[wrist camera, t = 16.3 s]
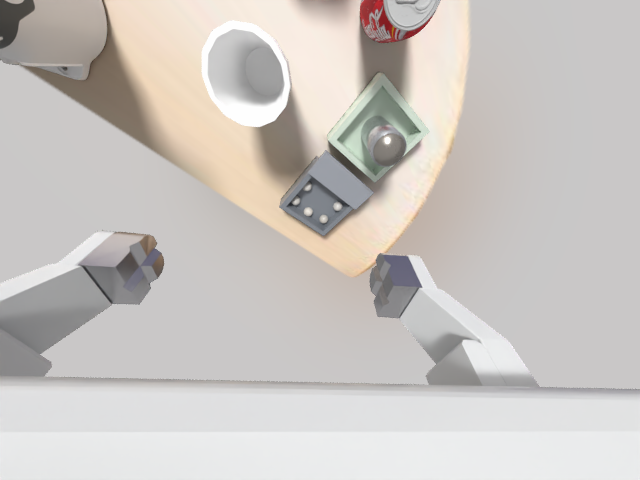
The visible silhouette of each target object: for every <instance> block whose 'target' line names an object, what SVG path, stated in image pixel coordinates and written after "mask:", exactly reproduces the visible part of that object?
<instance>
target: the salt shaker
mask: <svg viewBox="0 0 640 480" xmlns="http://www.w3.org/2000/svg"><path fill="white" fill-rule="evenodd" d="M361 138H362V140H363V142H364V144H365V146H366V148H367V150H368V151H369V153H370V155H371V157H372V159H373V161H374V162H375V163H376V164H377V165H379V166H382V167H389V166H392V165H394V164H396V163H398V162H399V161H400V160H401V159H402V157H403V156H404V154H405V152H406V147H407V143H406V139H405V137H404V136H403V135H402V134H401V133H400V132H399V131H398V130H397V129H396V128H395V127H394V126H393V125H392V124H390V123H389V122H388V121H387V120H386V119H385V118H384V117H381V116H373V117H371V118H369V119H368V120H367V121H366V122H365V123H364V125H363V127H362V129H361Z"/></svg>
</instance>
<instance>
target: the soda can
mask: <svg viewBox="0 0 640 480" xmlns="http://www.w3.org/2000/svg"><path fill="white" fill-rule="evenodd" d="M439 3H440V0H361V6H360V19H361V24H362V27H363V29H364V31H365V33H366V34H367V36H368V37H369V38H371V39H372V40H374V41H376V42H379V43H389V42H396V41H401V40H404V39H407V38H410V37H412V36H414V35H415V34H417V33H418V32H420V31H421V30H422V29H423V28H424V27H425V26H426V25H427V23H428V22H429V21H430V19H431V18H432V16H433V15H434V13H435V11H436V9H437V7H438V5H439Z"/></svg>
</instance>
